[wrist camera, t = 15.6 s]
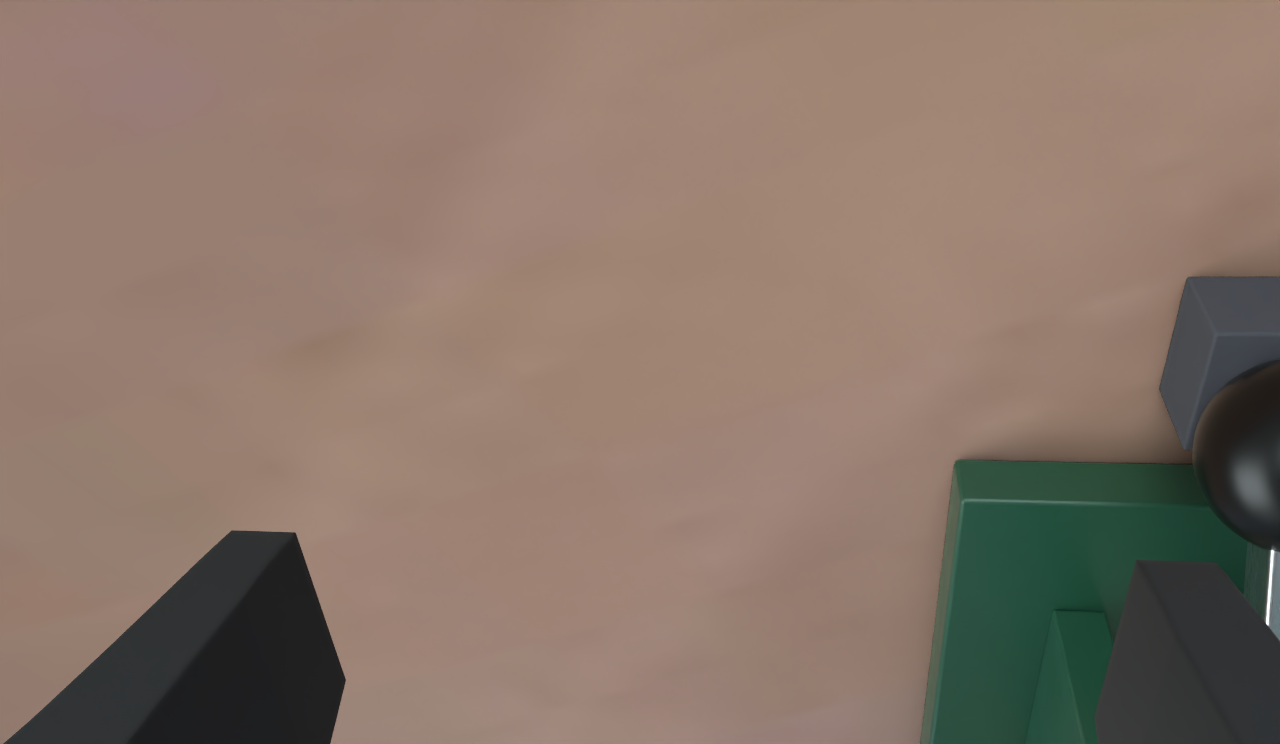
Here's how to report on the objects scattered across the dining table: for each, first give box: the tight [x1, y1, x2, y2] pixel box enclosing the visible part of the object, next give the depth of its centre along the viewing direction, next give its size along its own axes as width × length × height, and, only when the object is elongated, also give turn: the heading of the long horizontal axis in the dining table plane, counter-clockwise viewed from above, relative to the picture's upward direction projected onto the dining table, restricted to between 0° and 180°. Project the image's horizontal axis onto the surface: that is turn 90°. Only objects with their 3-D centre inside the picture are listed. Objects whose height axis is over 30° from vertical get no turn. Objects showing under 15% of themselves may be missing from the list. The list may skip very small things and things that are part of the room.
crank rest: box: [1159, 277, 1280, 450], centre depth 19 cm, size 2×2×2 cm
